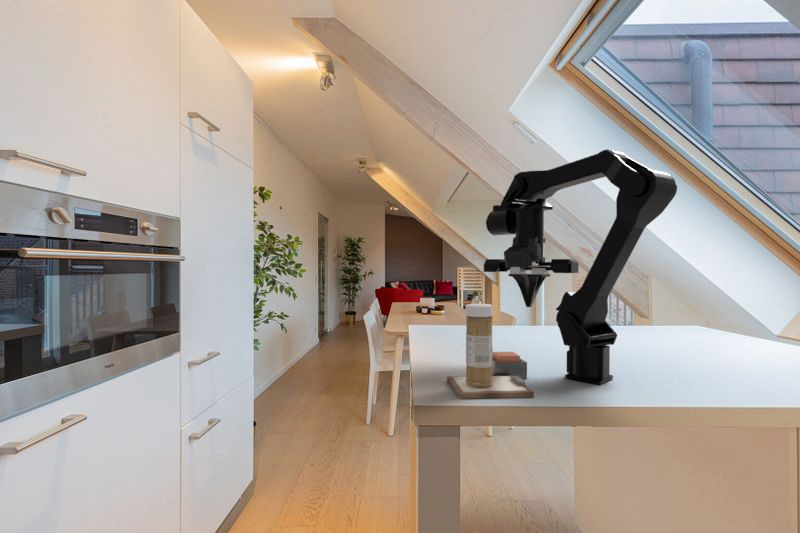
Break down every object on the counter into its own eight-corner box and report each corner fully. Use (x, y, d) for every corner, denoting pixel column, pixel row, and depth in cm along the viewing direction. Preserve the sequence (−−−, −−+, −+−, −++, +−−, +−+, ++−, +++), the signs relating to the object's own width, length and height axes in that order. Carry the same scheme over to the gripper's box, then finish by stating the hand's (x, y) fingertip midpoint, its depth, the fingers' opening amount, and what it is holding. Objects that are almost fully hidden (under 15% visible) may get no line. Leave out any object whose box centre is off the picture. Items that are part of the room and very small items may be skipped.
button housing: (515, 370, 88) (516, 355, 88) (526, 378, 82) (527, 362, 82) (486, 371, 88) (486, 355, 88) (495, 379, 82) (495, 362, 82)
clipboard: (512, 379, 81) (512, 371, 81) (533, 397, 71) (534, 387, 71) (447, 380, 80) (447, 372, 80) (459, 398, 70) (459, 388, 70)
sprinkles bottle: (493, 381, 77) (493, 303, 76) (492, 389, 72) (492, 305, 72) (466, 380, 78) (466, 302, 78) (463, 387, 73) (464, 305, 73)
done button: (512, 366, 87) (512, 351, 87) (519, 371, 83) (519, 355, 83) (492, 367, 87) (492, 351, 87) (498, 372, 83) (498, 356, 83)
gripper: (471, 232, 93) (471, 307, 94) (563, 228, 82) (562, 313, 82) (494, 235, 102) (494, 303, 103) (579, 232, 91) (578, 308, 91)
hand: (528, 307), depth 95 cm, fingers closed
